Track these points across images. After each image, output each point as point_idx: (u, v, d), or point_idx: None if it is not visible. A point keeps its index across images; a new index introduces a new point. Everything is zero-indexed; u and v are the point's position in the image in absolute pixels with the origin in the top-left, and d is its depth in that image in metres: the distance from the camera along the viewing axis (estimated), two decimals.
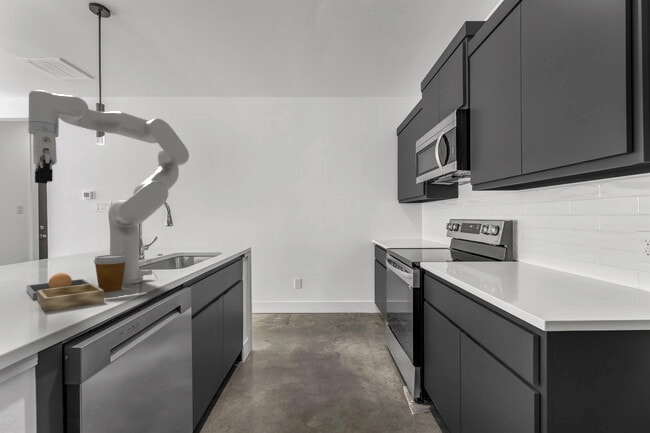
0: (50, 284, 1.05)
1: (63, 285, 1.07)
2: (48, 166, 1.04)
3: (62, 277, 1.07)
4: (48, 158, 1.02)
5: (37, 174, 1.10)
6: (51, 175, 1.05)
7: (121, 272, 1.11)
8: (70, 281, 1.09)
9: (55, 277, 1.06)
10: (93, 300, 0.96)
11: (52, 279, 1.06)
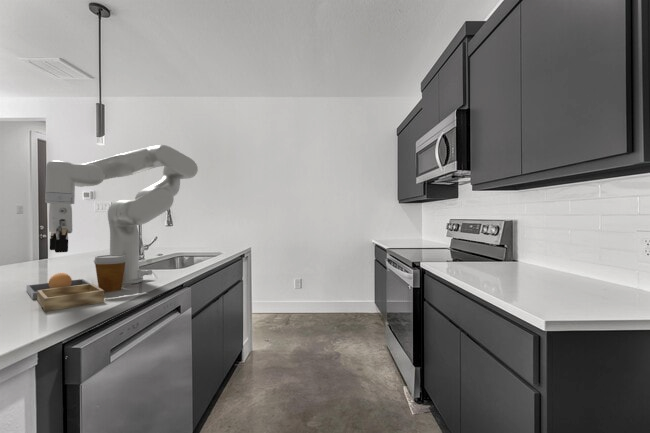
0: (50, 284, 1.05)
1: (63, 285, 1.07)
2: (64, 237, 1.04)
3: (62, 277, 1.07)
4: (64, 230, 1.02)
5: (52, 241, 1.10)
6: (67, 245, 1.05)
7: (121, 272, 1.11)
8: (70, 281, 1.09)
9: (55, 277, 1.06)
10: (93, 300, 0.96)
11: (52, 279, 1.06)
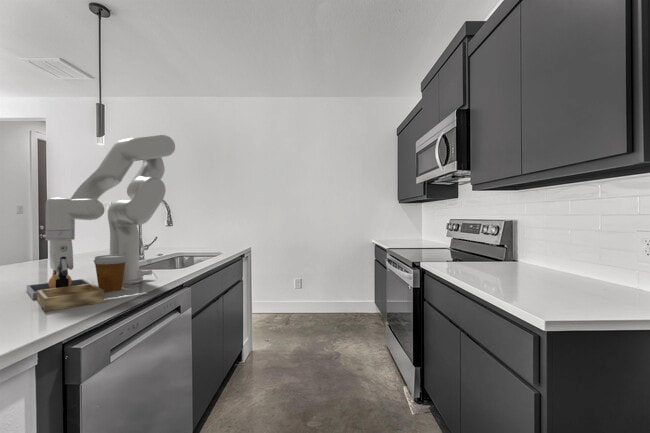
0: (50, 284, 1.05)
1: None
2: (64, 277, 1.05)
3: None
4: (65, 272, 1.04)
5: None
6: (67, 285, 1.07)
7: (121, 272, 1.11)
8: (70, 281, 1.09)
9: (55, 277, 1.06)
10: (93, 300, 0.96)
11: (52, 279, 1.06)
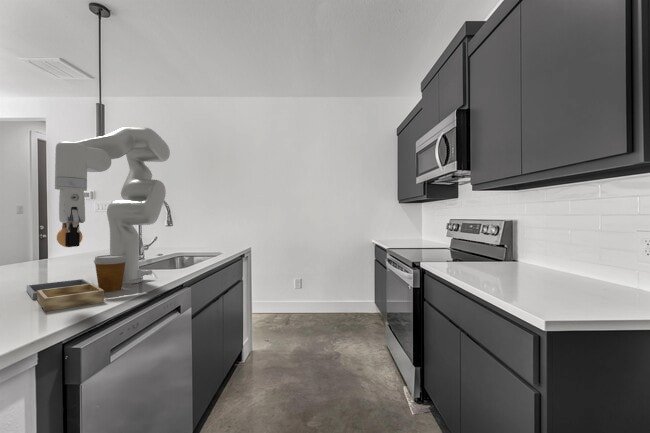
0: (58, 238, 0.94)
1: None
2: (75, 230, 0.94)
3: None
4: (76, 223, 0.92)
5: None
6: (78, 239, 0.95)
7: (121, 272, 1.11)
8: (81, 236, 0.97)
9: (65, 230, 0.94)
10: (93, 300, 0.96)
11: (61, 232, 0.94)
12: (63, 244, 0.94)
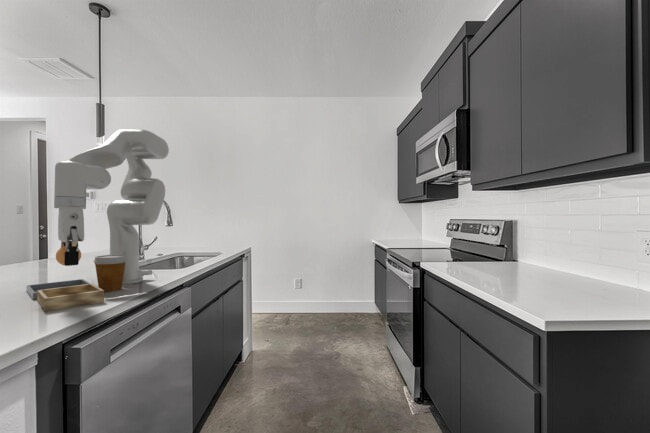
0: (57, 257, 0.94)
1: None
2: (74, 249, 0.94)
3: None
4: (75, 243, 0.93)
5: None
6: (77, 258, 0.96)
7: (121, 272, 1.11)
8: (79, 254, 0.98)
9: (64, 249, 0.95)
10: (93, 300, 0.96)
11: (60, 251, 0.95)
12: (62, 263, 0.95)
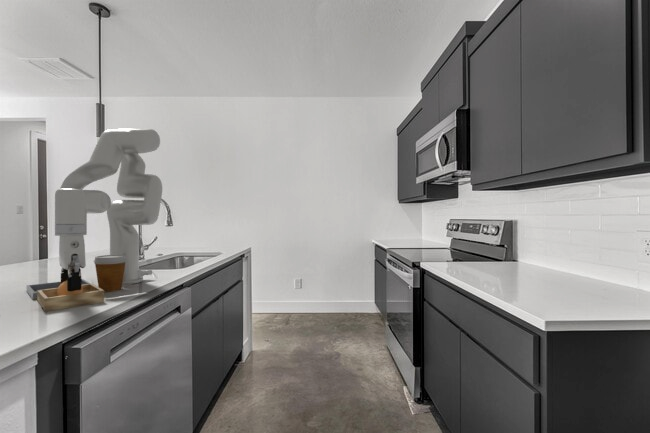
0: (59, 293, 0.95)
1: (73, 293, 0.96)
2: (77, 275, 0.93)
3: None
4: (77, 267, 0.92)
5: (63, 277, 1.00)
6: (80, 283, 0.95)
7: (121, 272, 1.11)
8: (81, 289, 0.98)
9: (65, 284, 0.95)
10: (93, 300, 0.96)
11: (61, 287, 0.95)
12: None
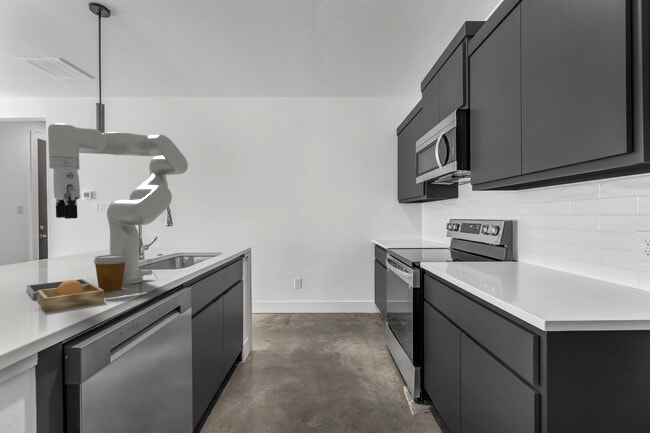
0: (59, 293, 0.95)
1: (73, 293, 0.96)
2: (73, 203, 1.01)
3: (72, 284, 0.96)
4: (74, 195, 0.99)
5: (58, 209, 1.07)
6: (76, 212, 1.02)
7: (121, 272, 1.11)
8: (81, 289, 0.98)
9: (65, 284, 0.95)
10: (93, 300, 0.96)
11: (61, 287, 0.95)
12: None
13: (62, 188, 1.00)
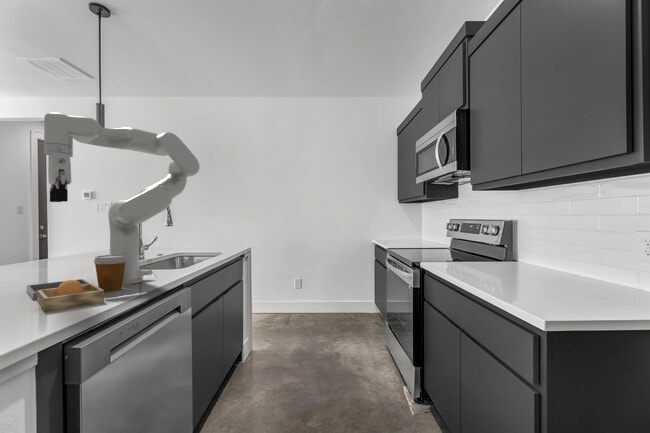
0: (59, 292, 0.95)
1: (73, 293, 0.96)
2: (63, 187, 1.07)
3: (72, 284, 0.96)
4: (64, 179, 1.05)
5: (52, 193, 1.13)
6: (66, 195, 1.08)
7: (121, 272, 1.11)
8: (81, 289, 0.98)
9: (65, 284, 0.95)
10: (93, 300, 0.96)
11: (61, 287, 0.95)
12: None
13: (54, 172, 1.06)
